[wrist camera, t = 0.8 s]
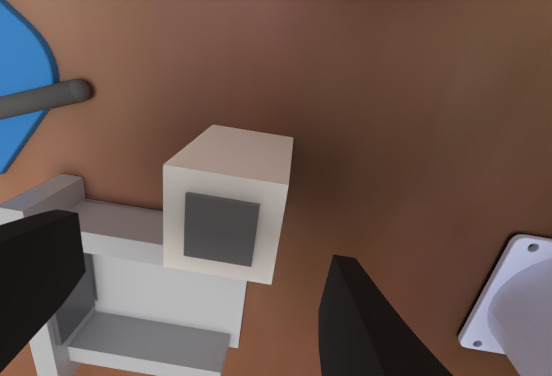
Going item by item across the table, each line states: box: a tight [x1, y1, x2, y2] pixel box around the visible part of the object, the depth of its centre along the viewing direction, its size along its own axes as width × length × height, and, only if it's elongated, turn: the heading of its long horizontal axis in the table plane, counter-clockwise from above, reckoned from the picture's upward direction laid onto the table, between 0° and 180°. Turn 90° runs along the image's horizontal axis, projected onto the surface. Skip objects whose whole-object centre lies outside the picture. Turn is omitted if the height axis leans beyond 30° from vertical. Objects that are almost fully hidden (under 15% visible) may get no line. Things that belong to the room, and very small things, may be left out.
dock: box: [0, 174, 247, 376], centre depth 17 cm, size 11×12×4 cm
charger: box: [163, 125, 293, 285], centre depth 13 cm, size 4×4×6 cm
